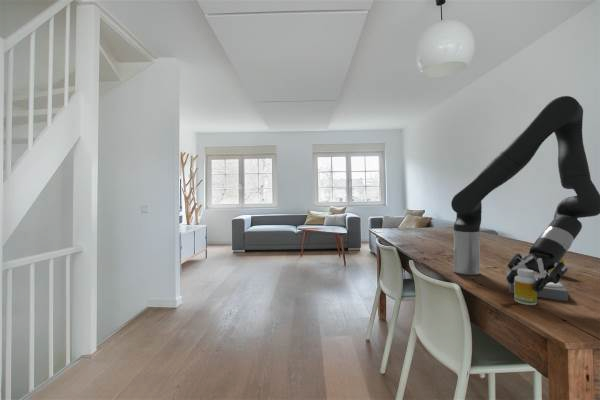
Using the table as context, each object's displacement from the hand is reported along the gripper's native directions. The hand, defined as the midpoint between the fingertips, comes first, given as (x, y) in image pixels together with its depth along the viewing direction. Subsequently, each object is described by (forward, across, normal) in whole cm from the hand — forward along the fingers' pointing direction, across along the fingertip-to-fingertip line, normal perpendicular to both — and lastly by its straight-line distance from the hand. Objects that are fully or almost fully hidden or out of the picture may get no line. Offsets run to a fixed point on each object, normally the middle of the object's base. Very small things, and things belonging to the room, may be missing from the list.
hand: (521, 285), depth 86 cm
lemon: (-24, -18, +32) cm, 44 cm away
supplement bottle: (+3, 0, +5) cm, 5 cm away
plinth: (-8, -8, +15) cm, 18 cm away
